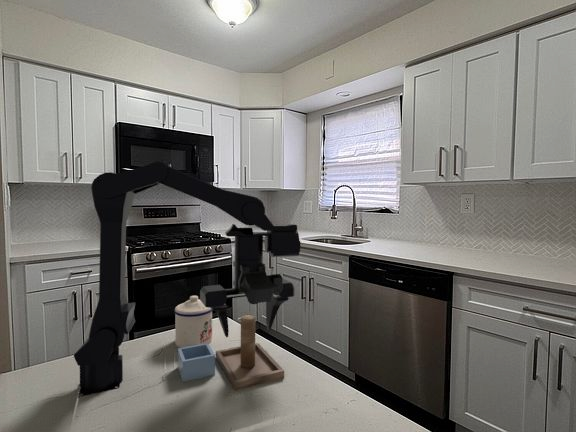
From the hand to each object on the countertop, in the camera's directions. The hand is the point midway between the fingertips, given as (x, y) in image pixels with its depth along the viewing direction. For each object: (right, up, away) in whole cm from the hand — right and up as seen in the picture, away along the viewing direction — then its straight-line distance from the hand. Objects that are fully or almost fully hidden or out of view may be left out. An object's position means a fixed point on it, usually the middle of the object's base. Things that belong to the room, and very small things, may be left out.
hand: (248, 332), depth 68 cm
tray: (0, -8, 0) cm, 8 cm away
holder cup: (-10, -8, -1) cm, 13 cm away
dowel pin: (0, -7, 0) cm, 7 cm away
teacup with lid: (-15, -7, +14) cm, 22 cm away
